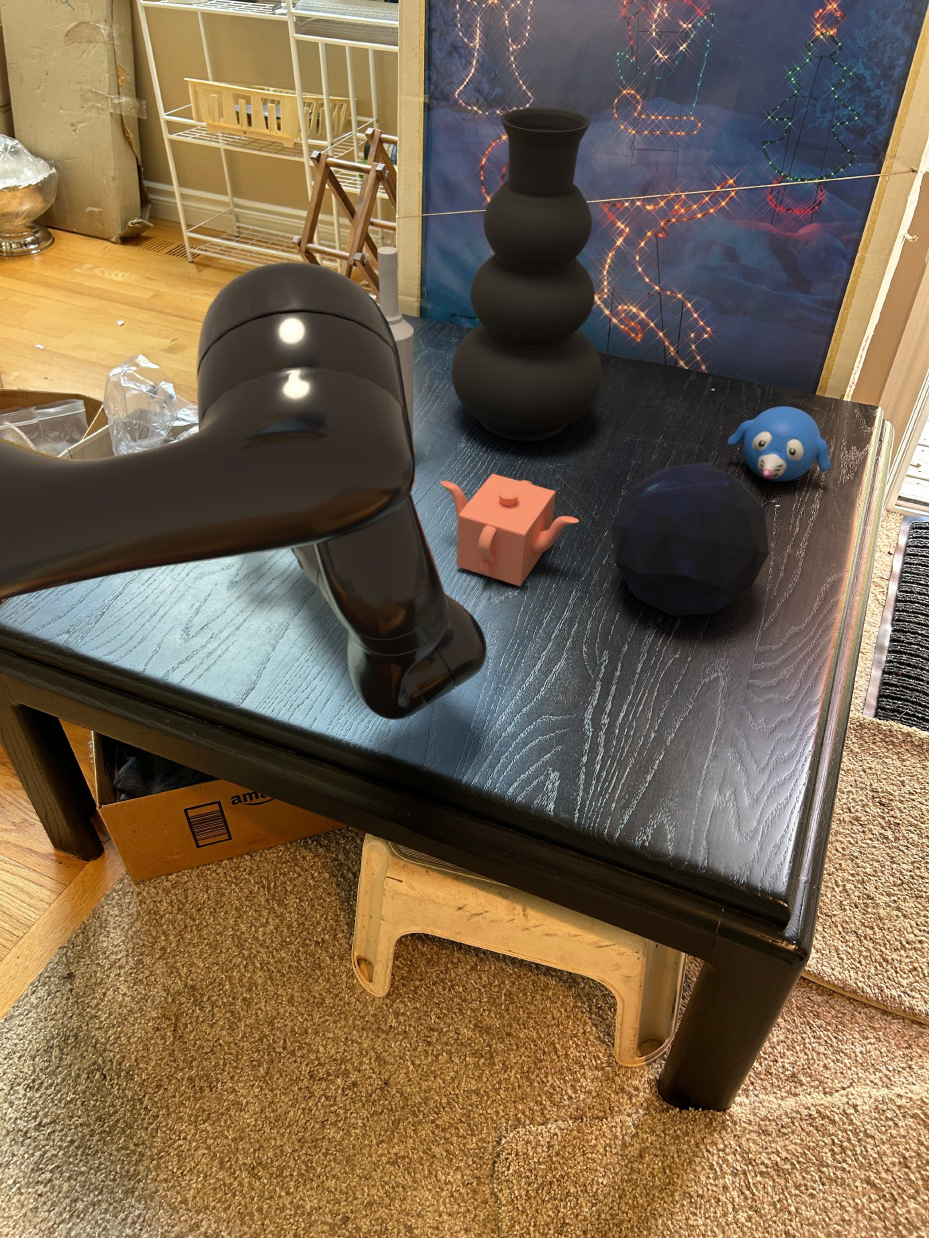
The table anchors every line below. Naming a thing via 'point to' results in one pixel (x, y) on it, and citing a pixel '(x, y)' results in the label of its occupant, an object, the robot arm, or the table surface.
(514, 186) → the vase
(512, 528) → the teapot
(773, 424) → the blue mole toy
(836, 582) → the table surface
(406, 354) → the bottle
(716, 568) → the decorative orb
